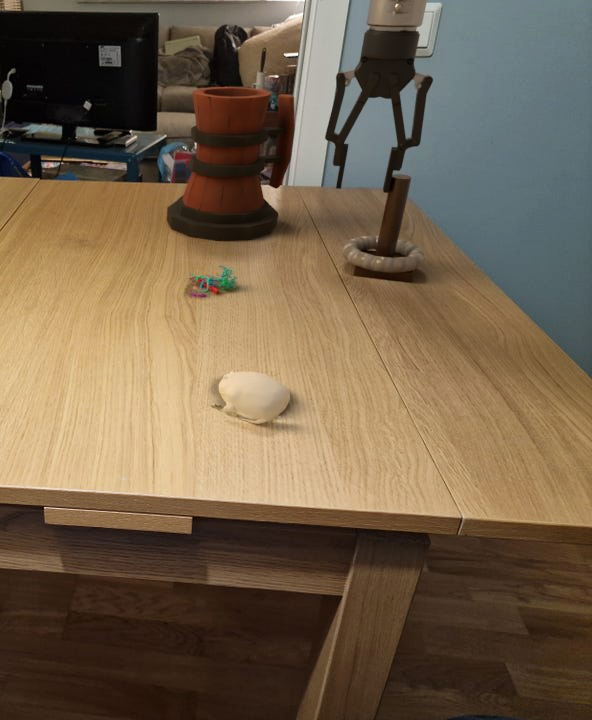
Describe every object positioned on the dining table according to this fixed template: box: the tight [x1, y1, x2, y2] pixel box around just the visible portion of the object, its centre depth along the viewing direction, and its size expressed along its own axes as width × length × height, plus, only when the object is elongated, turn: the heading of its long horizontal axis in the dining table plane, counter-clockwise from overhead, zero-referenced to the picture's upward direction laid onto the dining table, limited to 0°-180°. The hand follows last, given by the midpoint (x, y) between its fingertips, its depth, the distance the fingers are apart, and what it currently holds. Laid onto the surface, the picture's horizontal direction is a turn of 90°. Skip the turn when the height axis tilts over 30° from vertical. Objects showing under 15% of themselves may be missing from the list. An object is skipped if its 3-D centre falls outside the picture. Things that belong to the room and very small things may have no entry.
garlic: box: [210, 370, 291, 425], centre depth 75 cm, size 8×7×4 cm
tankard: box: [166, 86, 296, 242], centre depth 128 cm, size 22×25×25 cm
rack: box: [352, 173, 415, 283], centre depth 108 cm, size 9×9×16 cm
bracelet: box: [341, 235, 426, 273], centre depth 110 cm, size 13×13×2 cm
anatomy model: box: [185, 265, 238, 298], centre depth 101 cm, size 5×8×7 cm
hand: (362, 188), depth 106 cm, fingers open, 6 cm apart
